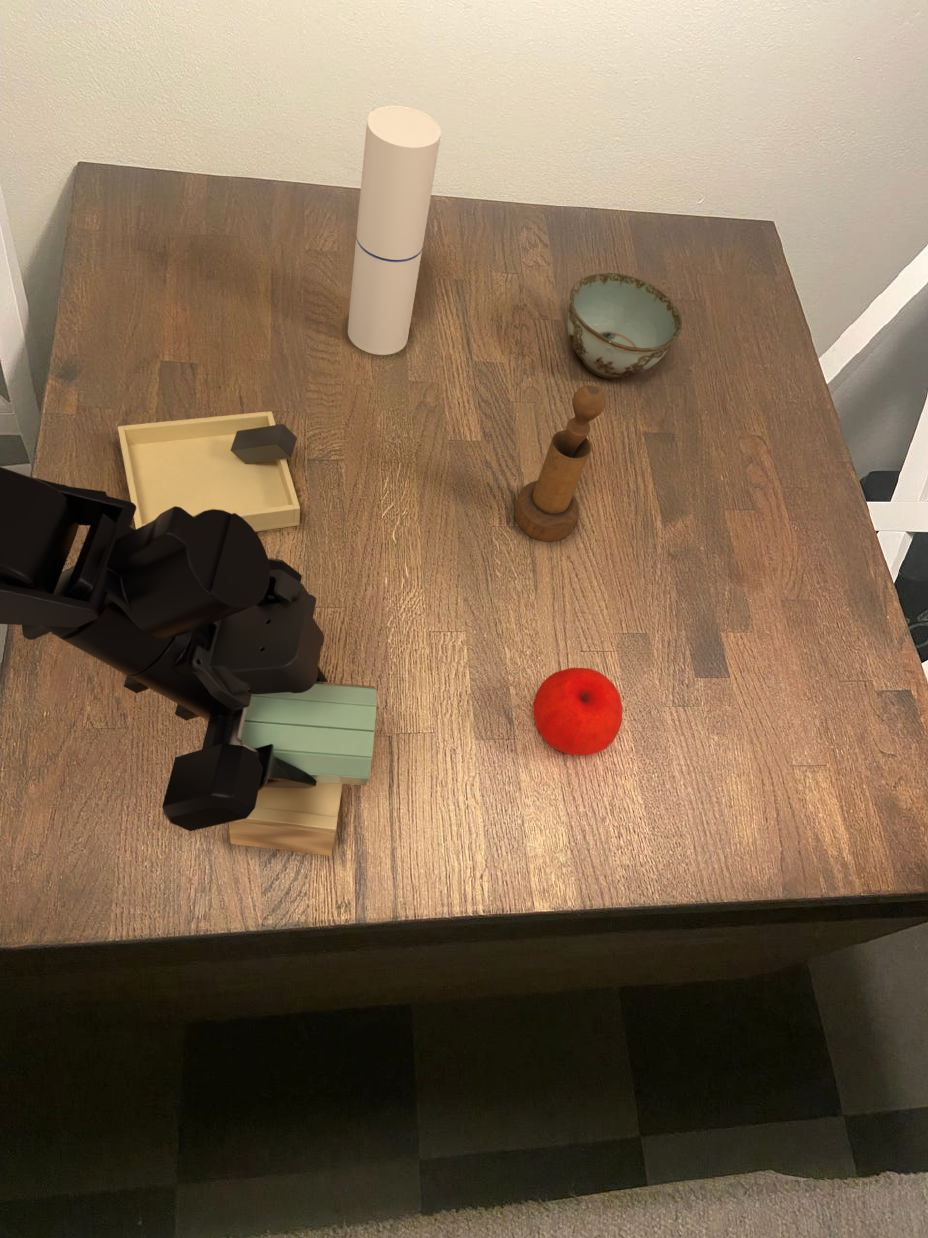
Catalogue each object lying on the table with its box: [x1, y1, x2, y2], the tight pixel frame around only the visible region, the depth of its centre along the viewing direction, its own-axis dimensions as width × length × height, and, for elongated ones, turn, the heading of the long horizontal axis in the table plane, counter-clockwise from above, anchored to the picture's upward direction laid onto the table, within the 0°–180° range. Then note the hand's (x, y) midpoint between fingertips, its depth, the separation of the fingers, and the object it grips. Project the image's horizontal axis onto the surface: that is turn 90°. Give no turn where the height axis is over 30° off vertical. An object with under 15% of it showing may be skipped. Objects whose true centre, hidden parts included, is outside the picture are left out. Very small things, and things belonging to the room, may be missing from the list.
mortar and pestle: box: [513, 384, 606, 543], centre depth 90 cm, size 7×6×18 cm
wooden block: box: [228, 782, 344, 857], centre depth 73 cm, size 8×10×6 cm
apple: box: [532, 667, 624, 756], centre depth 80 cm, size 8×8×7 cm
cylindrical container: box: [347, 105, 442, 356], centre depth 98 cm, size 7×7×25 cm
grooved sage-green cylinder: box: [240, 681, 377, 787], centre depth 65 cm, size 11×7×7 cm, turn 90°
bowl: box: [566, 272, 683, 379], centre depth 110 cm, size 14×13×8 cm
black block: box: [231, 423, 298, 464], centre depth 91 cm, size 6×2×2 cm
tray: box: [117, 410, 301, 533], centre depth 90 cm, size 15×13×3 cm
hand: (320, 737), depth 67 cm, fingers closed on grooved sage-green cylinder, 7 cm apart
